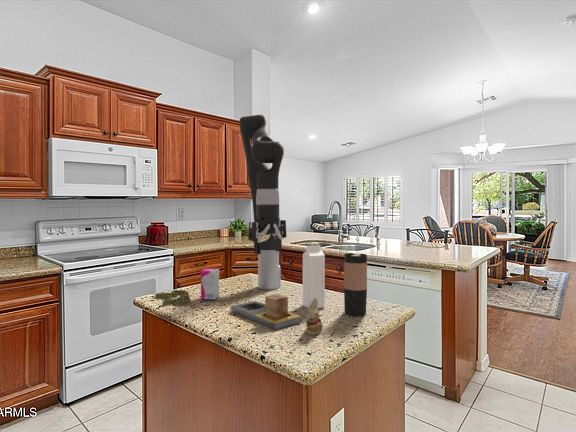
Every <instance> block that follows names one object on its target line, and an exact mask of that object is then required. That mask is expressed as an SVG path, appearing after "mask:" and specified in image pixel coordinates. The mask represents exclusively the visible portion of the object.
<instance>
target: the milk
mask: <svg viewBox="0 0 576 432" xmlns="http://www.w3.org/2000/svg"><path fill="white" fill-rule="evenodd" d="M325 258H326V255H325V253H324V252H323V251H322V246H321V245H309V246H306V247H305V251H304V252H303V253H302V306H304V307H305V308H306V309H308V308H309V306H310V305H311V303H312V301H313V299H314V298H317V300H318V309H323V308H325V306H326V305H325V300H326V299H325V297H326V296H325V295H326V293H325V292H326V291H325V285H326V284H325V282H326V279H325V277H326V274H325V273H326V272H325V267H326V263H325V260H326V259H325Z"/></svg>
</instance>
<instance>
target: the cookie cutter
mask: <svg viewBox="0 0 576 432" xmlns="http://www.w3.org/2000/svg"><path fill="white" fill-rule="evenodd" d="M154 297H155V299H164V300H162V306H164V307H165V306H171V305H174V304H175V305H176V306H183V305H187V304H189V303H190V302H191V296H190V295H189V291H188V290H182V289H179V290H178V289H174V290H171V292H158V293H155V296H154Z"/></svg>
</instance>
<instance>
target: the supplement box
mask: <svg viewBox="0 0 576 432" xmlns="http://www.w3.org/2000/svg"><path fill="white" fill-rule="evenodd" d="M219 298H220V269H219V268H204V269H202V270H200V301H211V302H215V301H217V300H218V299H219Z"/></svg>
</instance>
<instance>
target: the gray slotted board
mask: <svg viewBox="0 0 576 432" xmlns="http://www.w3.org/2000/svg"><path fill="white" fill-rule="evenodd" d="M230 312H231V313H233V314H236V315H238V316H241V317H242V318H246V319H248V320H250V321H252V322H255V323H257V324H260V325H262V326H264V325H265V326H264V327H267V328H269V329H271V328H272V330H274V331H278V330H279V329H284V328H287V327H291V326H295V325H297V324H300V323H301V315H300V314H296V313H293V312H290V311H288V317H284V318H280V319H277V320H274V319H271V318H269V317H266V316H265V303H262V302H259V301H258V300H257V301H256V300H251V301H247V302H243V303H238V304H234V305H231V306H230ZM277 329H278V330H277Z"/></svg>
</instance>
